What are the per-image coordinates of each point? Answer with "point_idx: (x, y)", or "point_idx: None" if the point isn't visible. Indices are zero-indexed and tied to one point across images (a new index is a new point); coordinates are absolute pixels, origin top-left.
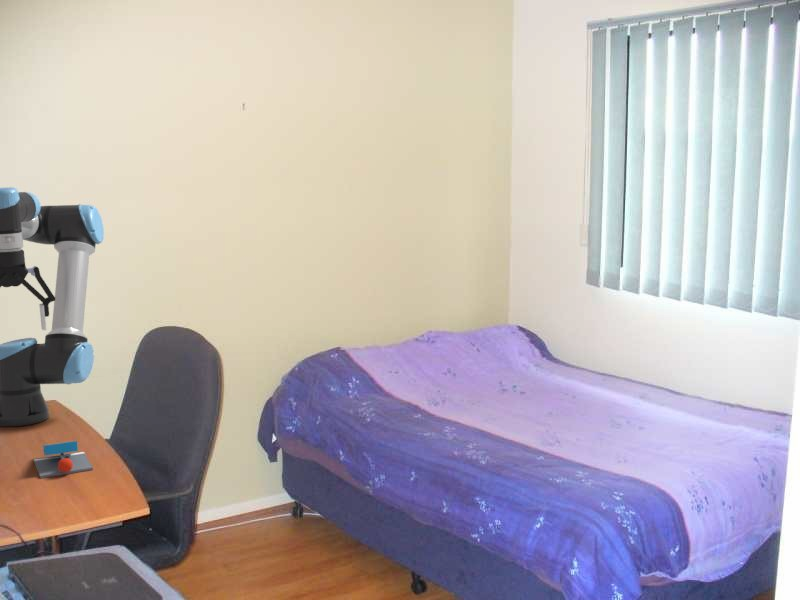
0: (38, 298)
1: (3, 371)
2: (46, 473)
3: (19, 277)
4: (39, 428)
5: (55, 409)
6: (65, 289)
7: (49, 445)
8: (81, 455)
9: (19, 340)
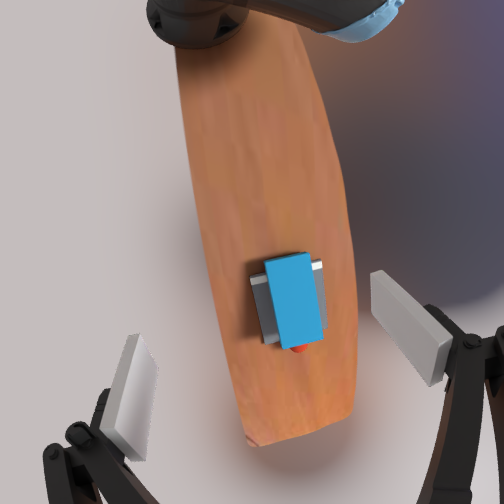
0: (442, 417)
1: None
2: (272, 338)
3: None
4: (237, 71)
5: None
6: None
7: (285, 348)
8: (317, 275)
9: None
